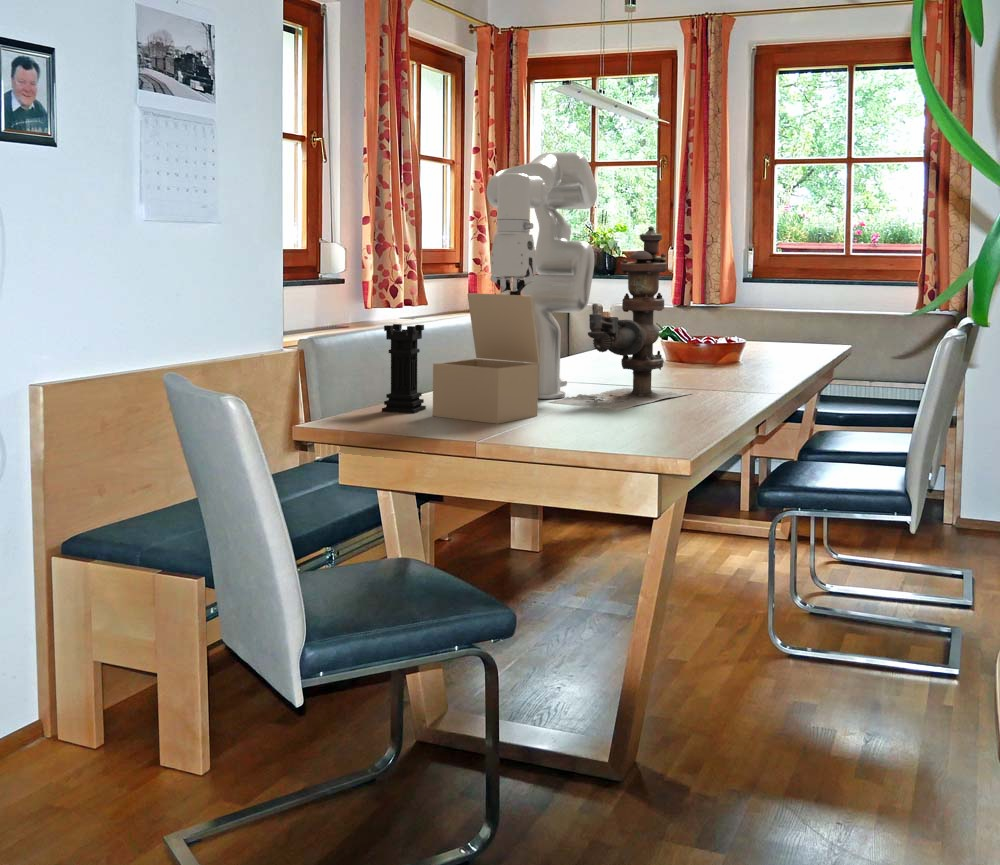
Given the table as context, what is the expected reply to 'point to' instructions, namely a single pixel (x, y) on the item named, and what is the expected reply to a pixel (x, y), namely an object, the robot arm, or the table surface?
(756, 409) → the table surface
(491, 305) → the lid flap
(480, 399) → the carton
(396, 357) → the chess piece
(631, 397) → the valve
